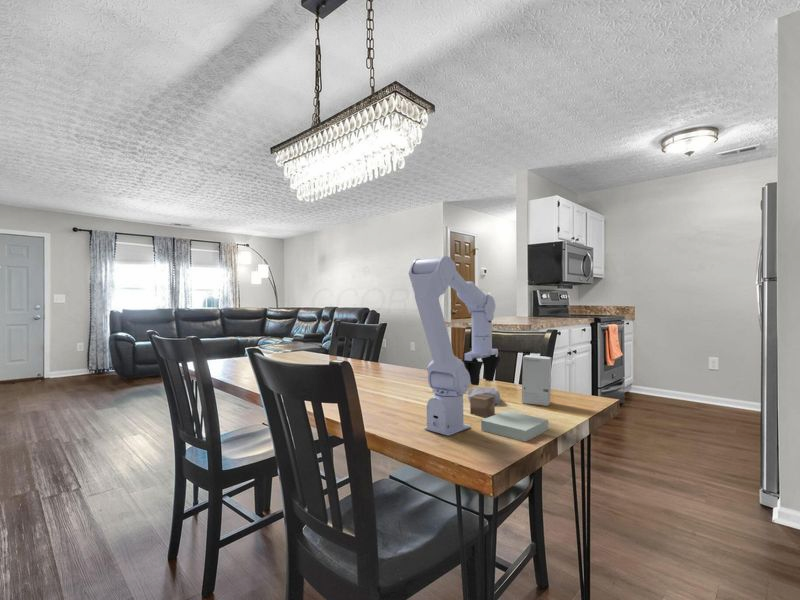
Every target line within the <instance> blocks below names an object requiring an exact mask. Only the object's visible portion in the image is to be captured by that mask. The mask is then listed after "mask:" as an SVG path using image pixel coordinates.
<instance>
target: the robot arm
mask: <svg viewBox="0 0 800 600" xmlns="http://www.w3.org/2000/svg"><path fill="white" fill-rule="evenodd" d="M408 277H409V279H410V282H411V283H410V284H411V287H412V290H413V293H414V300H415V303H416V306H417V307H416V308H417V310H418V313H419V317H420V321H421V325H422V326H423V330H424V334H425V338H426V340H427V344H428V348H429V351H430V353H431V358H432V360H431V361H430V362H429V363H428V365H427V367H426V371H427V382H428V386H429V388H430V389H432V393H434V394H433V397H431V398H430V399H428V401H427V403H426V426H424V428H423V429H424V430H426V431H430V432H433V433H437V434H441V435H443V436H452V435H454V434H457V433H460V432H462V431H465V430H466V429H469V428H472V427H471V425H470V424H467V423H465V422H464V395H465V394H467V393H468V390H469V388H470V387H471V386H470V384H471V385H472V386H475V387H476V386H478V387H479V385H480V377H481V370H482V366H483V369H484V378H485V381H486V382H493V381H494V378H495V374H496V370H497V367H498V365H499V363H500V361H501V356H499V349H498V348H493V327H492V324H493V323H492V322H493V320H494V319H495V318H494V315H495V314H494V313H495V311H496V301H495V298H494V297H493V296H492V295H490V294H486V293H484V292H483V290H482V289H480V288H479V287H478V286H477V285H476V284H475V282H474V281H473V280H472V281H469V280H468V281H467V280H466V279H465V278H463V276H462V275H461V274H460V273H459V271H457V267H456V262H455V261H454V260H453V259H452V258H451V257H450V256H449V255H444V256H441V257H440V256H439V257H431V258H430V257H429V258H416V259H414V260H413V261H412V263H411V265H410V269H409V271H408ZM449 287H450V288H451V289H453V290H454V291H456V296H457V298H458V299H459V300H460V301H461V302H462V303H463V304H465V307H466V309H467V311H468V314H470V315H471V351H468V352H466V353H464V359H463V360H461V359H460V358H459V357H457V356H455V354H454V350H453V348H452V343H451V339H450V336H449V331H448V329H447V325H446V322H445V318H444V313H443V310H442V306H441V303H440V297H441V296H442V295H444V294H445V293H446V291H447V290H448V288H449ZM478 359H481V361H479V360H478Z"/></svg>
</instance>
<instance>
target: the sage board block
mask: <svg viewBox="0 0 800 600" xmlns="http://www.w3.org/2000/svg"><path fill="white" fill-rule="evenodd" d="M480 421H481V422H480V423H481V424H480V426H481V427H480V428H481V429H480V431H481V432H487V433H490V434H493V435H494V434H495V435H499V436H502V437H506V438H510V439H512V440H513V439H514V440H517V441H522V442H528V441H529V440H530V441H531V440H532V439H533V438H535V437H538V436H539V435H541V434H543V433H545V432H546V430H547V431H549V419H547V418H543V417H537V416H532V415H528V414H524V413H518V412H513V411H509V410H504V411H501V412H499V413H497V414H492V415H490V416H487V417H485V418H483V419H481V420H480ZM544 431H545V432H544Z"/></svg>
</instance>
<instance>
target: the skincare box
mask: <svg viewBox="0 0 800 600" xmlns="http://www.w3.org/2000/svg"><path fill="white" fill-rule="evenodd" d="M521 380H522V381H521V383H522V384H521V403H522V404H525V405H538V406H545V407H549V406H550V403H551V389H552V357H551V356H541V355H531V354H526V355H524V356H523V357H522V379H521Z"/></svg>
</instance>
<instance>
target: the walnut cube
mask: <svg viewBox="0 0 800 600" xmlns="http://www.w3.org/2000/svg"><path fill="white" fill-rule="evenodd" d="M469 404H470V407H469V408H470V410H469V411H470V413H469V414H470V415H473V414H475V415H474V416H478V415H479V416H478V417H482V416H483V418H488V417H491V416H493V415H495V414H494V413H496V410H495V409H496V408H495V407H496V405H495V397H494V396H489V395H483V394H478V395H475V396H471V397H470V402H469Z"/></svg>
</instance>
